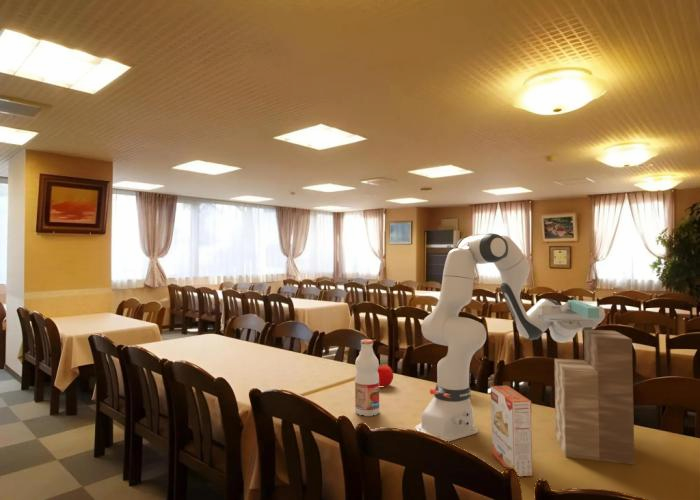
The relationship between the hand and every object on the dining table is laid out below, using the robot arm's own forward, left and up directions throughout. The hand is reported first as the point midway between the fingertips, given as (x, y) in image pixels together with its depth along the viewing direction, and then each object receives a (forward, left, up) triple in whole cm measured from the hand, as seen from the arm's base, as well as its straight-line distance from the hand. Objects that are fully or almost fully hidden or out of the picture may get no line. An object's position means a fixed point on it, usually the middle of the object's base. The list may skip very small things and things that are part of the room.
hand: (575, 304), depth 144 cm
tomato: (-12, +82, -44) cm, 94 cm away
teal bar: (-7, -4, -2) cm, 8 cm away
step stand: (-10, -8, -44) cm, 46 cm away
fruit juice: (-40, +62, -44) cm, 86 cm away
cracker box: (-38, +4, -44) cm, 58 cm away
